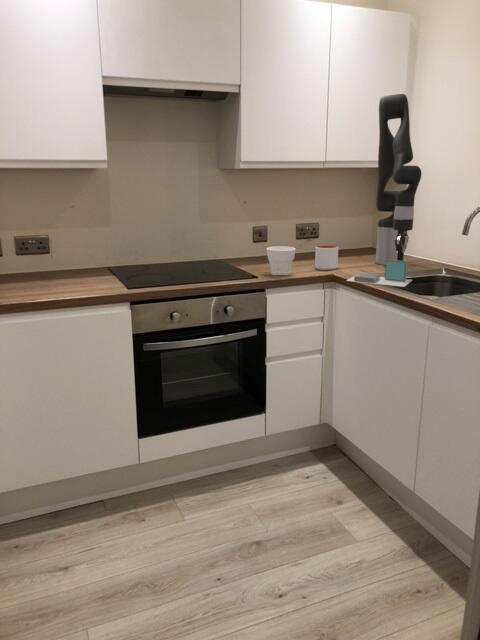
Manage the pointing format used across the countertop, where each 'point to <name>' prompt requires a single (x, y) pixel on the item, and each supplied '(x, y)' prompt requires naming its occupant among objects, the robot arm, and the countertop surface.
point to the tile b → (396, 270)
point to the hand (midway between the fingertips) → (400, 261)
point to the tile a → (366, 277)
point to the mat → (385, 282)
